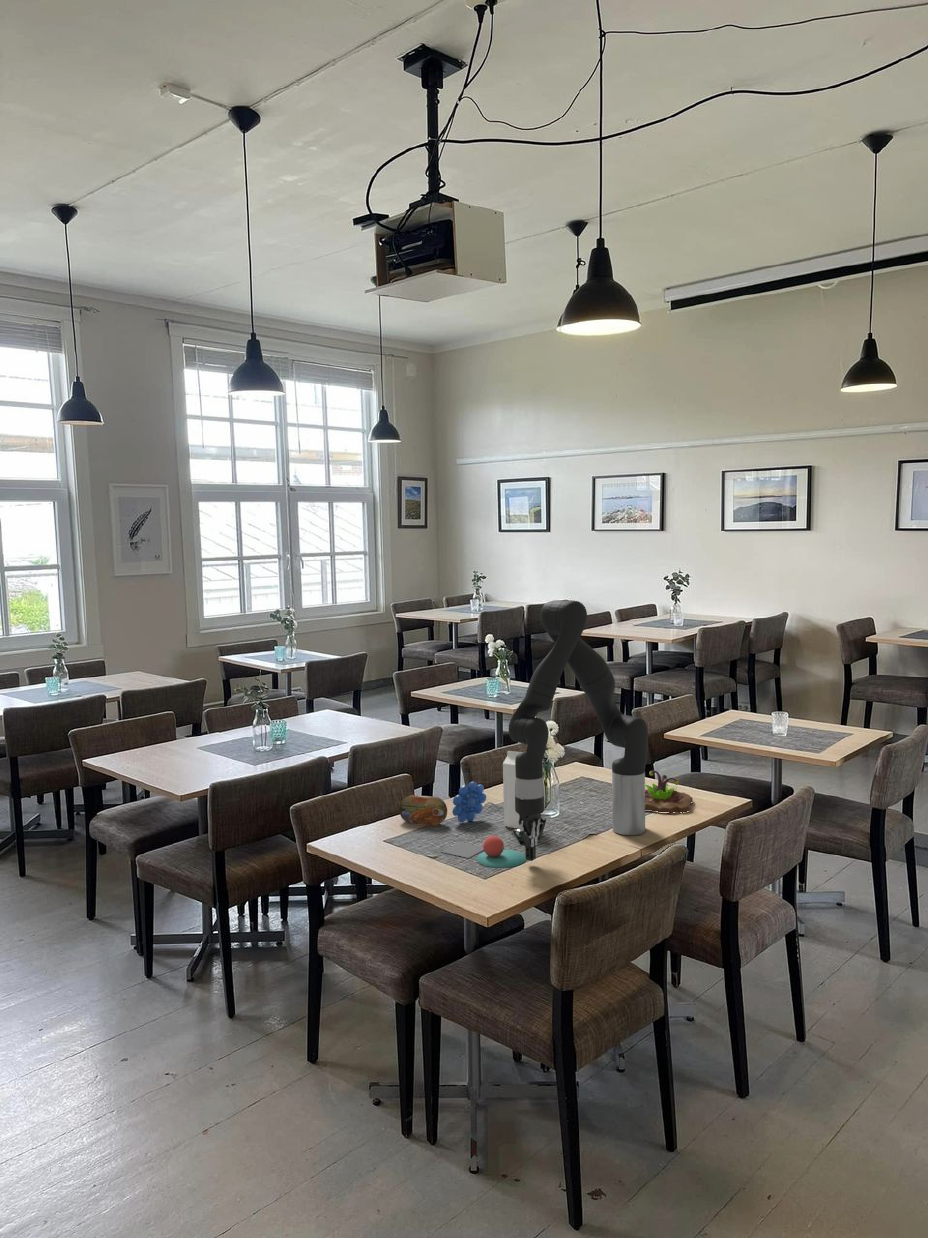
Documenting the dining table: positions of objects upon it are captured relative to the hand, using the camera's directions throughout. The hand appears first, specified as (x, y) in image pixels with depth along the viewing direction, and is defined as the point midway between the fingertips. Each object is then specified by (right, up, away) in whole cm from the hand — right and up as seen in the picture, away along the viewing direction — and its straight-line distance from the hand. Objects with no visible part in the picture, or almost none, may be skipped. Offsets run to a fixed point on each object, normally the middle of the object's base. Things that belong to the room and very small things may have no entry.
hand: (530, 859), depth 224 cm
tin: (-29, 0, +37) cm, 47 cm away
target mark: (-7, -1, +5) cm, 9 cm away
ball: (-9, +2, +7) cm, 12 cm away
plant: (+45, +3, +50) cm, 67 cm away
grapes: (-16, +1, +38) cm, 41 cm away
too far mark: (-17, -1, +12) cm, 21 cm away
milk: (-1, +1, +33) cm, 33 cm away
